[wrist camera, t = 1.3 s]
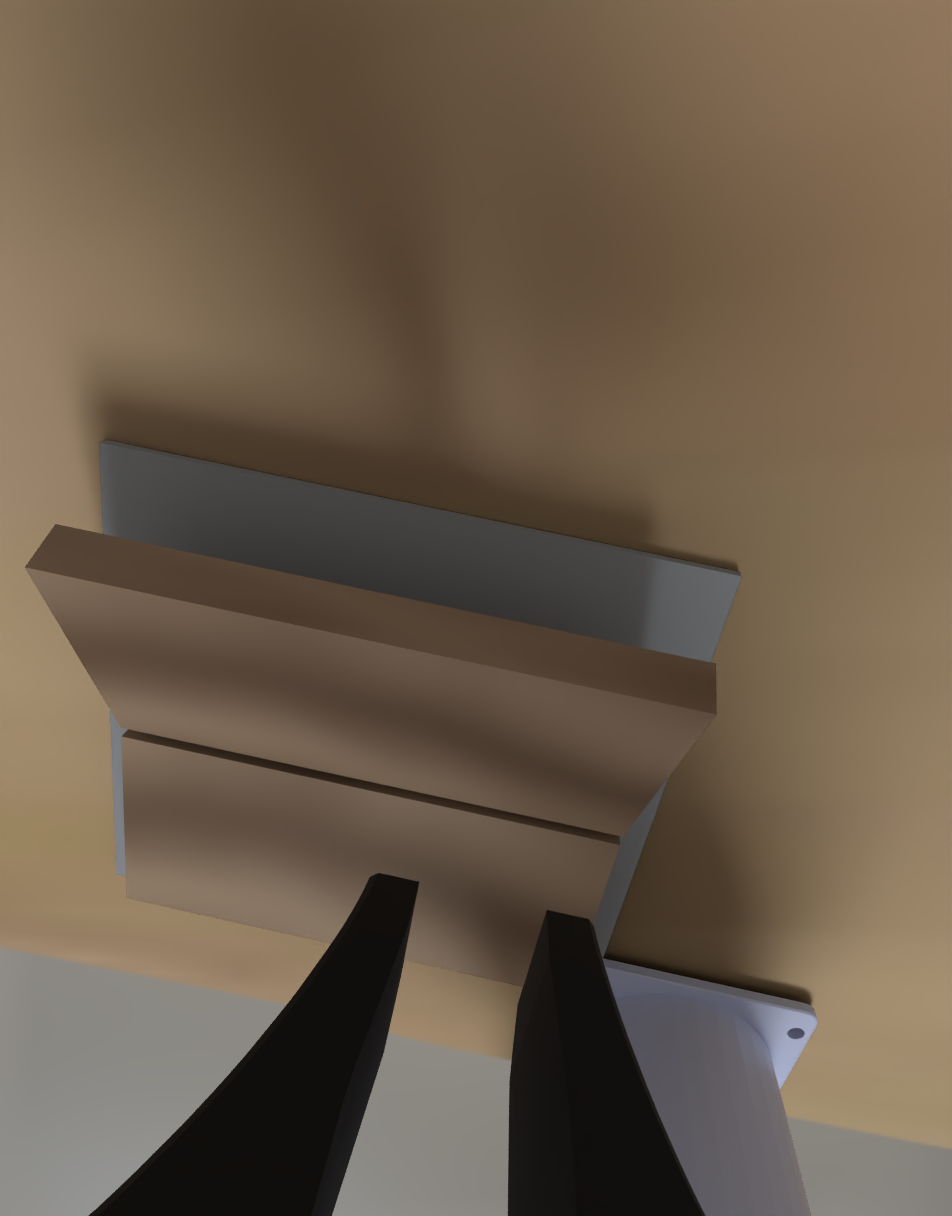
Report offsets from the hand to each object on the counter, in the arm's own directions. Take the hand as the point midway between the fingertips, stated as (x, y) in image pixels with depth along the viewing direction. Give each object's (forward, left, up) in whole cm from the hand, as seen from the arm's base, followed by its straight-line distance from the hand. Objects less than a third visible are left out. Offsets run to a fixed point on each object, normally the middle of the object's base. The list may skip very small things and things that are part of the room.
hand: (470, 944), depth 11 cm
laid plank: (-8, +3, -10) cm, 13 cm away
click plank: (-1, +3, -8) cm, 8 cm away
